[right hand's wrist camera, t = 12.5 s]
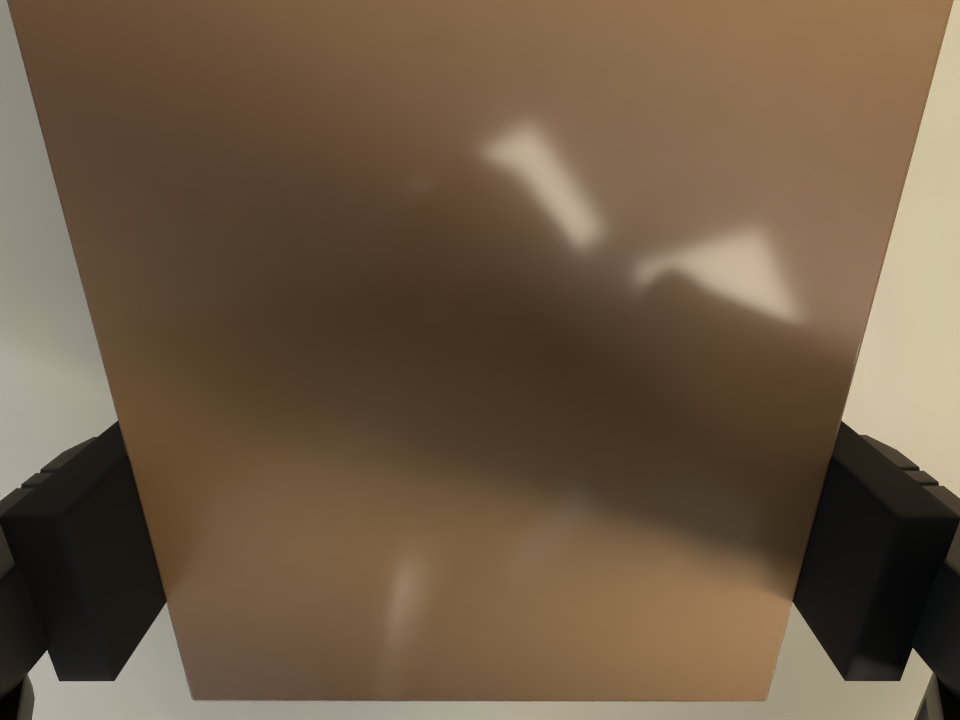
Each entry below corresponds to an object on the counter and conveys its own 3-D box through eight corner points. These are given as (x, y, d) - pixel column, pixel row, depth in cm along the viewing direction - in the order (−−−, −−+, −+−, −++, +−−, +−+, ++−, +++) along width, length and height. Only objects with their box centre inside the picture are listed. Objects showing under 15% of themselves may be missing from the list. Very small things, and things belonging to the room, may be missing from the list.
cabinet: (217, -383, 11) (-432, -1636, 3) (744, -382, 11) (1396, -1628, 3) (317, 450, 18) (191, 702, 10) (641, 450, 18) (767, 703, 10)
